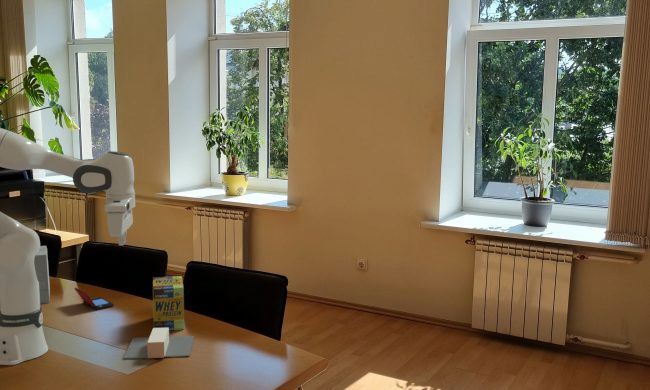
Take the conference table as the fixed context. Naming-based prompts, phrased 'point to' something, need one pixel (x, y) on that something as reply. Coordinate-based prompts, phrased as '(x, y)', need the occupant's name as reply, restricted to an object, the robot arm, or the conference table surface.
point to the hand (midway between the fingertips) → (122, 244)
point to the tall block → (158, 343)
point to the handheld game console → (94, 301)
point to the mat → (175, 347)
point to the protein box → (168, 302)
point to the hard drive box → (42, 274)
